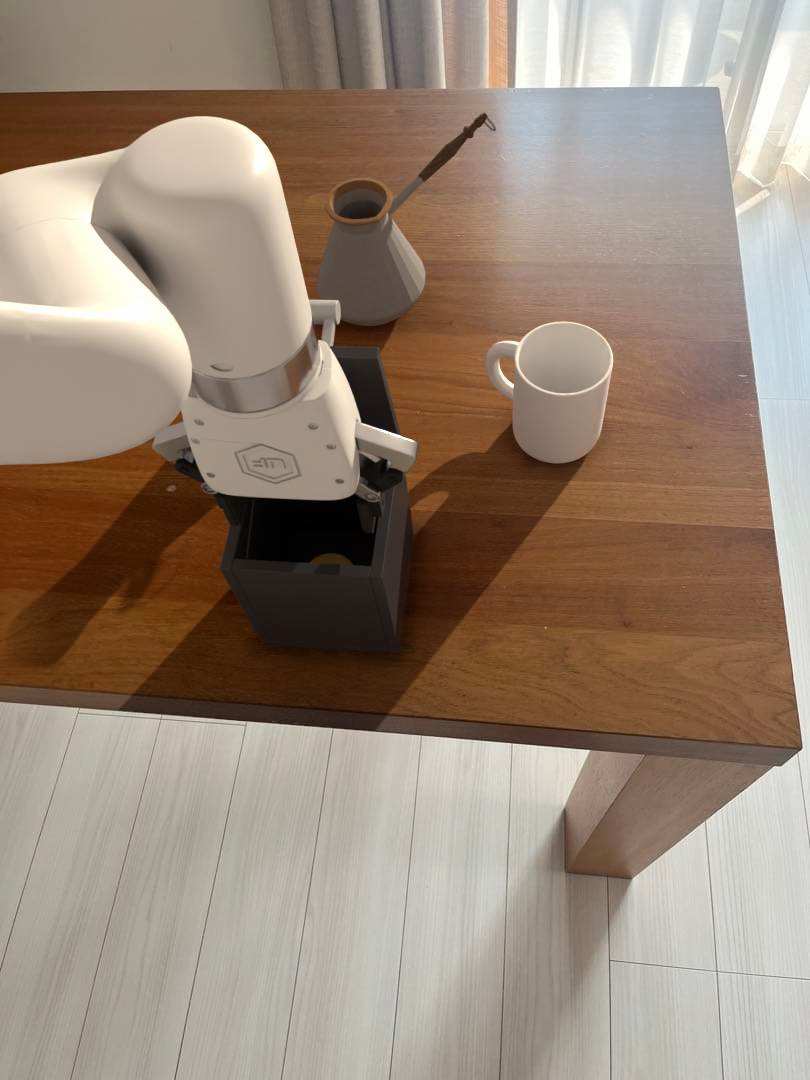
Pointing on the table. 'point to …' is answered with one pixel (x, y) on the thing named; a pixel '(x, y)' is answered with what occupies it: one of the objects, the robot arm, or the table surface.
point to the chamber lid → (359, 370)
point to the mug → (555, 388)
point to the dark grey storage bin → (322, 572)
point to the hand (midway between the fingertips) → (305, 512)
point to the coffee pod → (331, 559)
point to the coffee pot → (375, 246)
